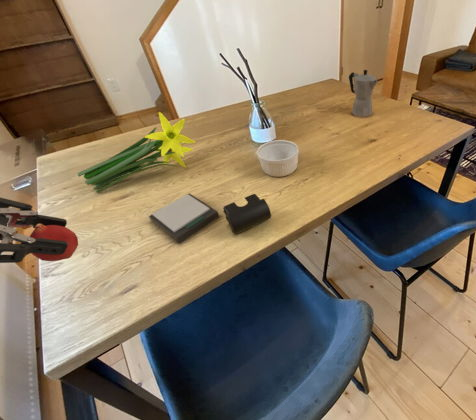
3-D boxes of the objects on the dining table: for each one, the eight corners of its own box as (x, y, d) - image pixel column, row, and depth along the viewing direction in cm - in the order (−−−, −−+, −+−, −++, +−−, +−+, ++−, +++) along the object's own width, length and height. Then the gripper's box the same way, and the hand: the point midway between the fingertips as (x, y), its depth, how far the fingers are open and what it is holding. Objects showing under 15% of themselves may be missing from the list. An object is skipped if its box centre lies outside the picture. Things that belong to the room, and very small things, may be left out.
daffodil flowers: (101, 172, 93) (196, 125, 97) (117, 208, 90) (214, 159, 94) (54, 151, 76) (171, 96, 80) (72, 195, 74) (192, 136, 78)
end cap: (237, 241, 68) (231, 221, 64) (226, 224, 72) (220, 205, 68) (273, 223, 73) (269, 204, 68) (261, 209, 77) (256, 190, 72)
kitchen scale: (179, 243, 68) (175, 236, 66) (152, 221, 74) (147, 214, 72) (219, 216, 75) (216, 209, 73) (191, 198, 81) (188, 191, 79)
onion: (48, 277, 45) (11, 245, 40) (46, 255, 48) (11, 223, 43) (90, 258, 48) (60, 226, 42) (85, 239, 51) (57, 207, 46)
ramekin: (270, 155, 98) (267, 137, 93) (305, 160, 95) (304, 142, 91) (253, 176, 88) (249, 157, 84) (292, 182, 86) (290, 163, 81)
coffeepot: (380, 114, 122) (385, 70, 110) (366, 120, 118) (370, 76, 106) (354, 104, 131) (357, 63, 119) (340, 110, 126) (342, 67, 114)
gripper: (-136, 222, 28) (77, 245, 41) (-91, 161, 37) (72, 196, 50) (-156, 278, 29) (56, 283, 42) (-108, 206, 38) (56, 229, 51)
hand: (64, 236), depth 46 cm, fingers closed on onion, 5 cm apart
